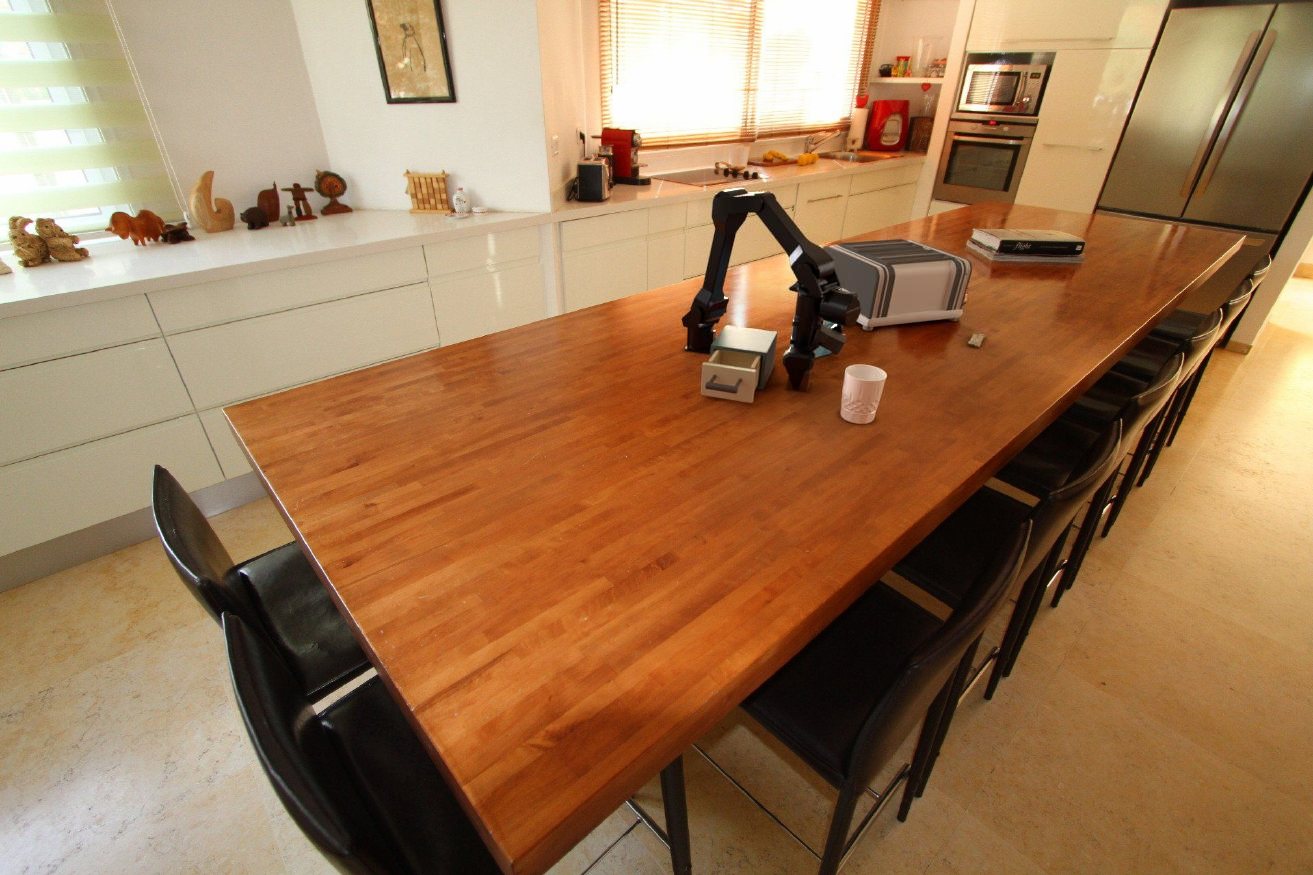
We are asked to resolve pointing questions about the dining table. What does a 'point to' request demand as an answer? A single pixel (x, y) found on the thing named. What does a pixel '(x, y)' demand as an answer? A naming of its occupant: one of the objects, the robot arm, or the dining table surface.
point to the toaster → (901, 280)
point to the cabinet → (749, 346)
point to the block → (802, 382)
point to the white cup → (861, 393)
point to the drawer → (731, 375)
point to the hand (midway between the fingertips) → (798, 381)
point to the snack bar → (976, 339)
